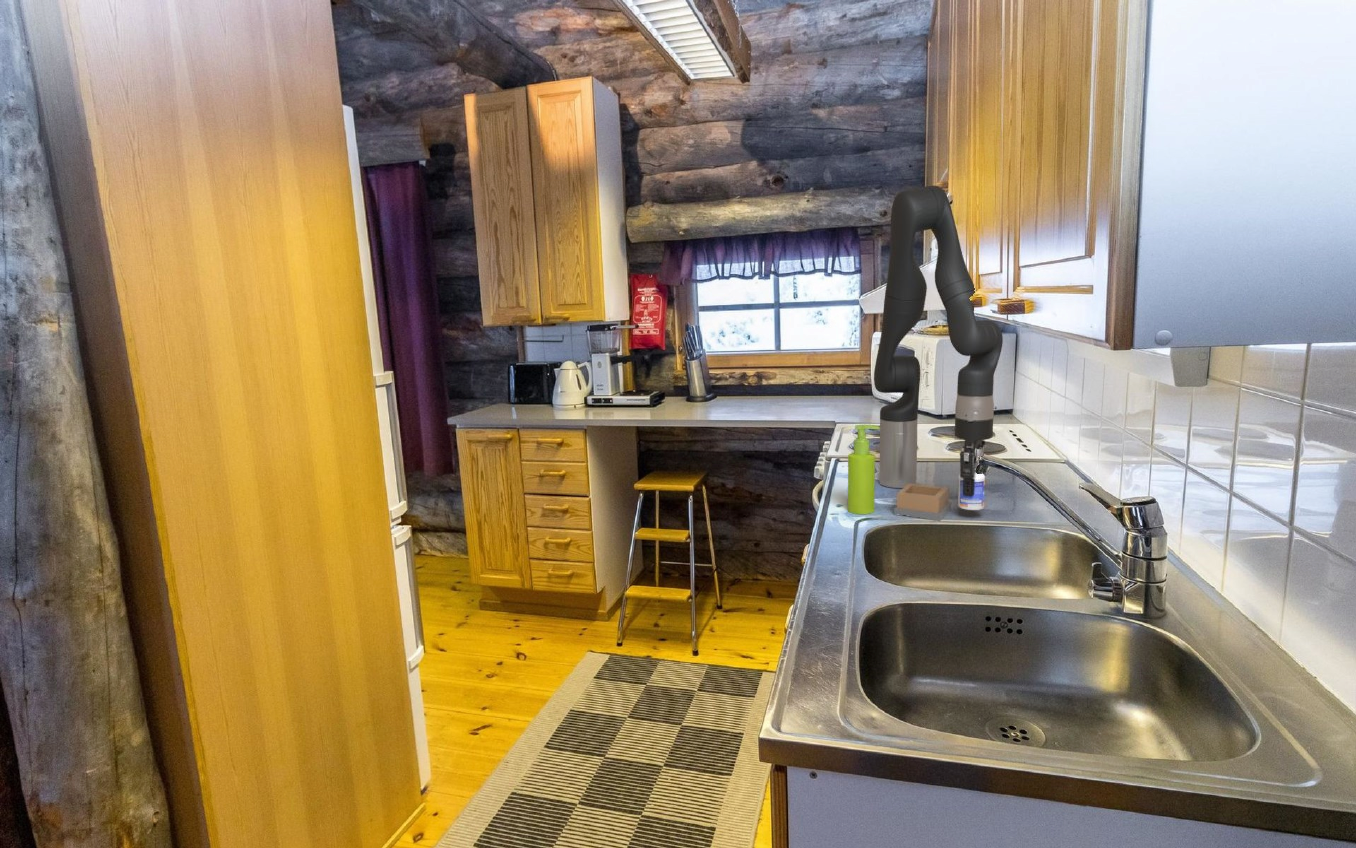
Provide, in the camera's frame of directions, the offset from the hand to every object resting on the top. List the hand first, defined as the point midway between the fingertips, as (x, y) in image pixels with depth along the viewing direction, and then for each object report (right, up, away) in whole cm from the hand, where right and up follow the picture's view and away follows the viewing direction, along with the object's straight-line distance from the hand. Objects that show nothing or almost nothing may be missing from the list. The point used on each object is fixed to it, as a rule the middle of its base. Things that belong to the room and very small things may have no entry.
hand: (971, 491), depth 152 cm
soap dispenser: (-21, -5, +9) cm, 24 cm away
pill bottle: (0, -4, +1) cm, 4 cm away
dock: (-8, -5, +6) cm, 12 cm away
